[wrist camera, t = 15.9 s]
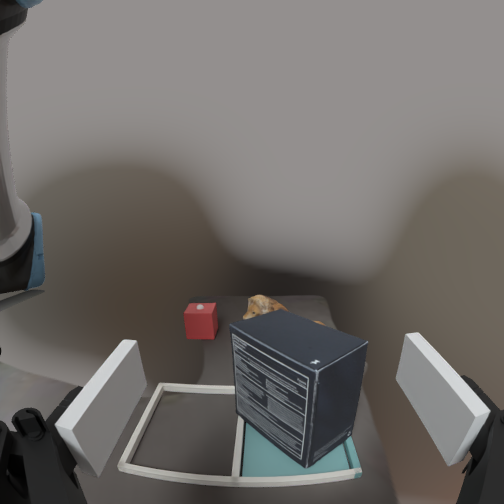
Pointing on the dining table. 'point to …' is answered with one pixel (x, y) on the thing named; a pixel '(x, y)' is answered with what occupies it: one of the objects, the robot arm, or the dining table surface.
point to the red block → (201, 321)
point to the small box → (297, 382)
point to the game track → (246, 455)
